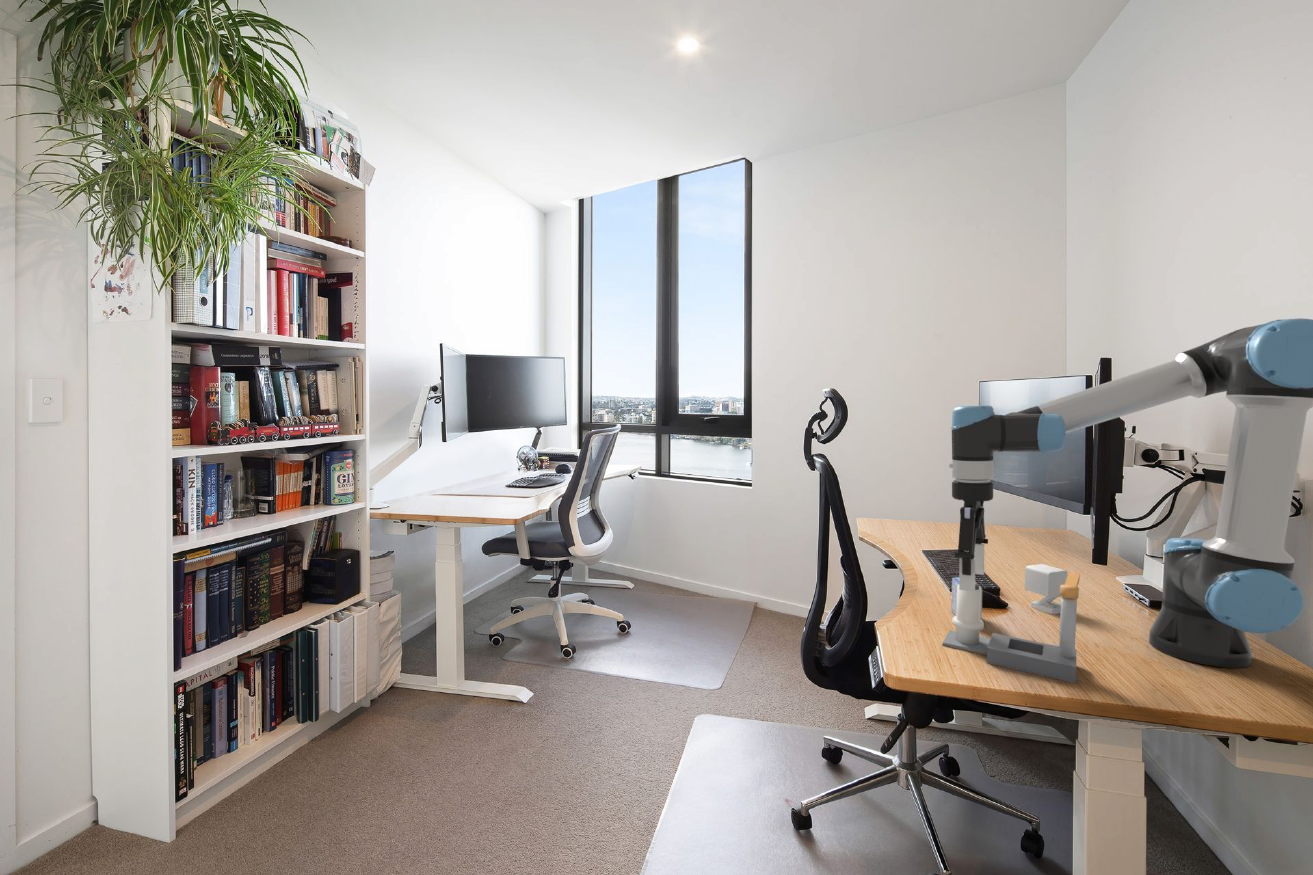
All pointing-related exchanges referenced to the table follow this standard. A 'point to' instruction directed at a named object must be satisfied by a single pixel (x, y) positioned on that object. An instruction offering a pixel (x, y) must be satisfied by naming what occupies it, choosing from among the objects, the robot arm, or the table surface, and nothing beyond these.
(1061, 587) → the tan long bar
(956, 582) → the medicine box
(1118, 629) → the table surface
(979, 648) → the pad
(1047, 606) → the security camera
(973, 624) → the plug
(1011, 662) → the grey post stand
